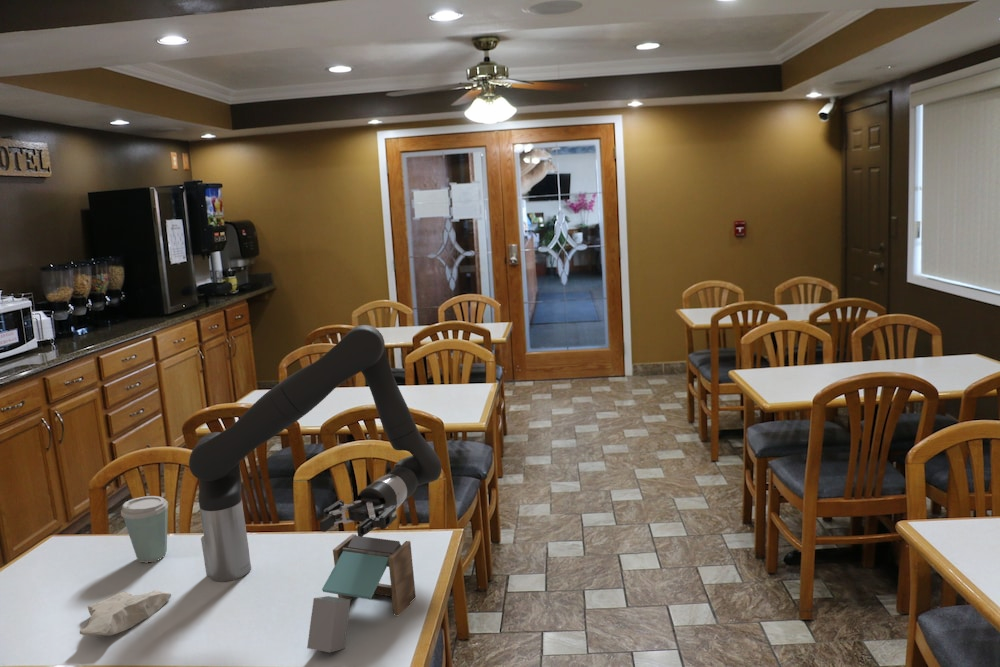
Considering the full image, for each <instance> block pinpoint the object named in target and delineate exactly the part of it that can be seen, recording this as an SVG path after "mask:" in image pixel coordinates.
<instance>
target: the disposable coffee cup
mask: <svg viewBox="0 0 1000 667" xmlns="http://www.w3.org/2000/svg"><path fill="white" fill-rule="evenodd" d="M168 508H169V502H168V501H167V500H166V499H165V498H163V497H162V496H158V495H149V496H148V495H147V496H141V497H134V498H132V499H129V500H128V501H127V500H126V501H125V502H124V503H123V504H122V508H121V509H120V515H121V517H123V520H124V524H125V527H126V530H127V533H128V535H129V538H130V541H131V544H132V547H133V550H134V553H135V556H136V559H137V560H138V561H139V562H140V563H141V562H145V563H144V564H149V563H148V562H152V563H154V562H153V561H155V562H157V561H156V560H158V559H160V558H162V557H163V556H164V555H165V554H167V551H168V512H169V511H168V510H169V509H168ZM165 556H166V555H165ZM162 559H163V558H162ZM160 560H161V559H160ZM158 561H159V560H158Z"/></svg>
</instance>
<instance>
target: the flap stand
mask: <svg viewBox="0 0 1000 667" xmlns="http://www.w3.org/2000/svg"><path fill="white" fill-rule="evenodd" d="M353 536H357V534H354V533H352V534H351V535H349V536H348V537H347V538H345V539H344V540H343V541H342V542H340V543H339V544H338V545H337V546H335V548H333V549H332V556H333V563H334V566H335V565H336V563H337V561H338V559H339V558H340V556H341V554H342V552H343V551H346V552H354V553H361V554H368V555H376V556H383V557H388V561H389V567H388V570H389V578H390V579H389V580H390V584H386V583H380V582H379V584H378V586H377V588H376V590H375V592H374V593H375V594H374V595H380V594H381V596H387V597H388V596H389V597H391V598H392V608H393V615H394V614H395V615H399V614H400V613H401V612H402V611H403V610H404V609H405V610H406V608H408V606H409V605H410V604H411V603H412V602H413V601H414V600H415V599H416V598H415V597H417V596H416V595H417V594H416V587H415V586H416V584H415V577H414V565H413V557H412V556H413V555H412V554H413V553H412V545H411V544H412V542H411V541H410V540H405V541H404V542H403V543H402V544H401V546H400V547H399V548H398V549H397V550H396V551H395V552H393V553H392V554H387V553H379V552H372V551H364V550H357V549H350V548H348V545H349V544H350V542H351V540H352V538H353ZM337 598H344V599H350V601H351V600H353V598H354V597H352V596H346V595H340V594H337ZM414 598H415V599H414ZM413 599H414V600H413ZM412 600H413V601H412ZM411 601H412V602H411ZM410 602H411V603H410ZM405 610H404V611H405ZM404 611H403V612H404ZM403 612H402V613H403ZM402 613H401V614H402ZM401 614H400V615H401ZM395 615H394V616H395ZM400 615H399V616H400Z"/></svg>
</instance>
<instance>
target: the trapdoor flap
mask: <svg viewBox="0 0 1000 667" xmlns="http://www.w3.org/2000/svg"><path fill="white" fill-rule="evenodd" d="M401 545H402V544H401V542H400V541H399V540H394V539H384V538H376V537H368V536H362V537H360V536H358V535H356V536H353V538H352V540H351V542H350V544H349V545H348V548H350V549H357V550H364V551H372V552H379V553H387V554H392V553H393V552H395V551H396V550H397V549H398V548H399V547H400V546H401ZM387 568H389V561H388V557H383V556H376V555H368V554H361V553H354V552H346V551H343V552H342V554H341V556H340V558H339V559H338V561H337V563H336V565H334V567H333V569H332V570H331V572H330V574H329V576H328V578H327V580H326V582H325V583H324V585H323V586H322V588H321V591H322V592H323V593H328V594H335V595H338V594H340V595H346V596H352V597H353V598H360V599H366V600H372V597H373V596H374V595H375V594H374V592H375V590H376V588H377V586H378V584H379V583H380V582H381V580H382V577H383V575H384V573H385V572H386V569H387Z"/></svg>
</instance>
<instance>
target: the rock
mask: <svg viewBox="0 0 1000 667" xmlns="http://www.w3.org/2000/svg"><path fill="white" fill-rule="evenodd" d="M171 597H172V593H171V592H170V593H169V592H162V591H160V590H159V589H158V590H157V589H155V590H151V591H149V592H147V593H144V594H143V593H142V594H138V595H132V593H128V592H125V591H123V592H118V593H115V594H114V595H112V596H111V597H109V598H105V599H104V600H102V601H98V602H95V603H93V604H90V605H88V606H87V610H88V613H89V616H90V618H89V621H88V623H87V626H85V627H84V628H82V629H80V630H79V634H80V635H82V636H87V635H88V636H97V635H98V636H105V637H106V636H108V637H109V636H113V635H116V634H119V633H123V632H125V631H127V630H128V629H130V628H133V627H134V626H136V625H137V624H138V623H140V622H141V621H143V620H147V619H148V617H149V618H151V617H152V616H153V615H154V614H155V613H156V612H157V611H159V610H161V608H162V607H163V606H164V605H165V604H166V603H167V602H168V601H169V600H170V598H171ZM150 616H151V617H150Z"/></svg>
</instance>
